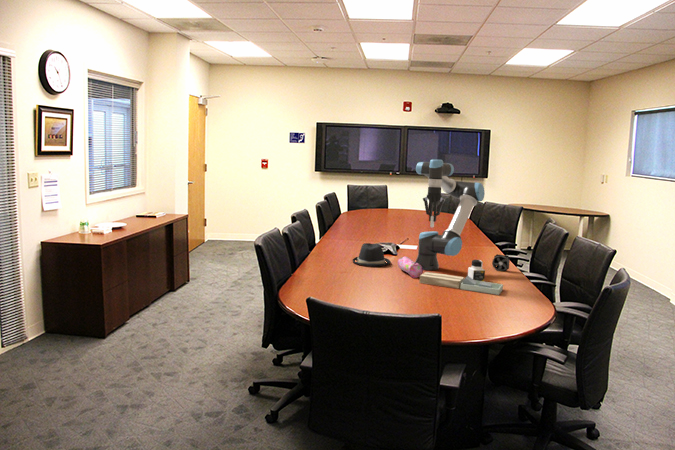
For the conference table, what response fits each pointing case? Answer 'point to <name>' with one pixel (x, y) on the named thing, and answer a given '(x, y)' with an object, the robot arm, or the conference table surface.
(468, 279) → the tile rear
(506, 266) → the cpu cooler
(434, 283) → the wooden block
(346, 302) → the conference table surface
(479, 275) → the medicine bottle
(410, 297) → the conference table surface
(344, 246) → the conference table surface
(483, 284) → the tile front
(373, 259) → the fedora
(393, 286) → the conference table surface
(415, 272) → the pencil case
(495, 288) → the tray
